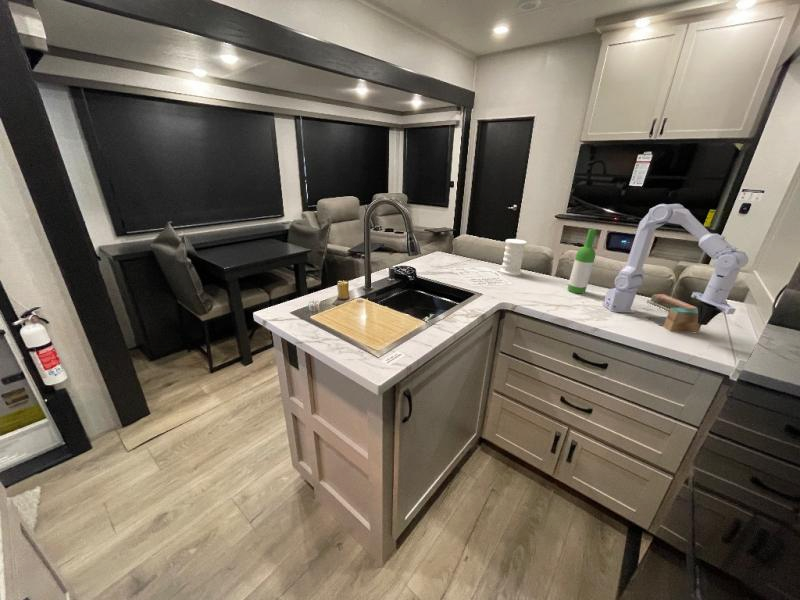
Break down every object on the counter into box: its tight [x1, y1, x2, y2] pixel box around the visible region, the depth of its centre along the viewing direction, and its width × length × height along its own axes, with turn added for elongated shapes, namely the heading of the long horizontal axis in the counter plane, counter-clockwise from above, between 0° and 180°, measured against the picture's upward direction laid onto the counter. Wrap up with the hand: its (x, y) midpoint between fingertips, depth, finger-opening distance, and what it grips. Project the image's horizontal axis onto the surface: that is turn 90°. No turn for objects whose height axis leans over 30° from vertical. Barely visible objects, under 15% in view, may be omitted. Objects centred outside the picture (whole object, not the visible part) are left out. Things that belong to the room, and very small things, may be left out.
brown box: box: [662, 308, 702, 334], centre depth 116 cm, size 10×4×8 cm, turn 86°
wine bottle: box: [567, 228, 597, 295], centre depth 145 cm, size 8×8×30 cm
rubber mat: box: [646, 315, 667, 327], centre depth 123 cm, size 12×8×1 cm, turn 86°
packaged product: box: [646, 293, 697, 313], centre depth 133 cm, size 18×5×10 cm
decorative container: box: [499, 238, 528, 277], centre depth 172 cm, size 12×12×18 cm
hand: (701, 324), depth 108 cm, fingers closed
